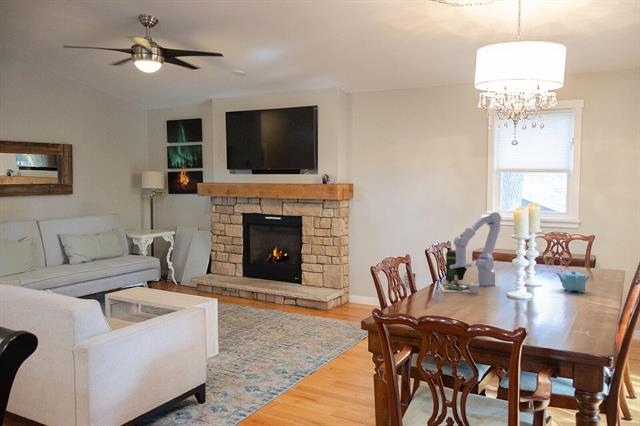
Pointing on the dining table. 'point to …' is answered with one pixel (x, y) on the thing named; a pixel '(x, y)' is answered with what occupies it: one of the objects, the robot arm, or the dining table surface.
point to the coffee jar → (450, 261)
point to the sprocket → (456, 285)
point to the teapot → (573, 281)
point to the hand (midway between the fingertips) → (460, 279)
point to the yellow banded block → (473, 288)
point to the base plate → (452, 289)
